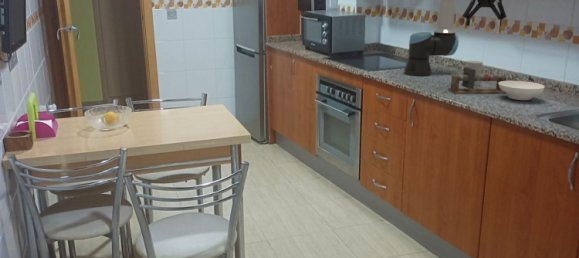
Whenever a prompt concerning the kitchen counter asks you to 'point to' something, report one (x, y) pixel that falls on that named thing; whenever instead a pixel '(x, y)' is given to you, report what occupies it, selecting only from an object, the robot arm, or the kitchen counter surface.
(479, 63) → the light grey cylinder
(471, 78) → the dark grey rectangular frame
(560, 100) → the kitchen counter surface
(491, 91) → the pipe stand
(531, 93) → the bowl
